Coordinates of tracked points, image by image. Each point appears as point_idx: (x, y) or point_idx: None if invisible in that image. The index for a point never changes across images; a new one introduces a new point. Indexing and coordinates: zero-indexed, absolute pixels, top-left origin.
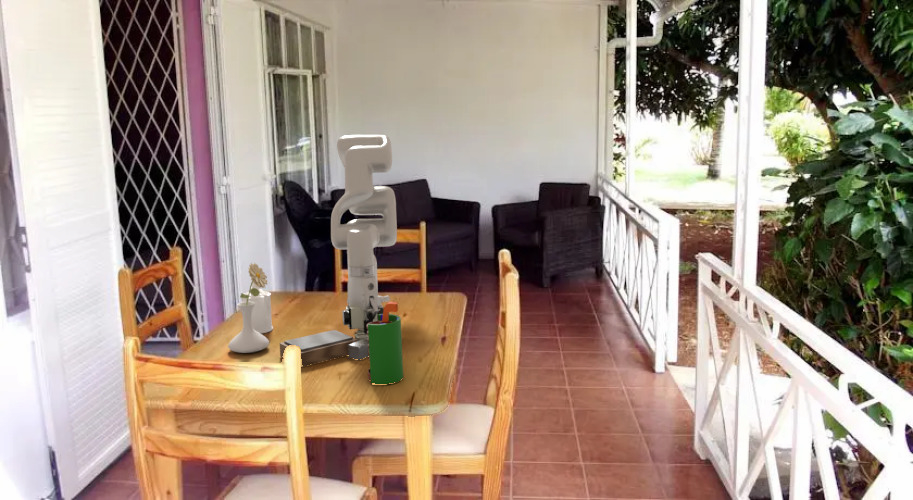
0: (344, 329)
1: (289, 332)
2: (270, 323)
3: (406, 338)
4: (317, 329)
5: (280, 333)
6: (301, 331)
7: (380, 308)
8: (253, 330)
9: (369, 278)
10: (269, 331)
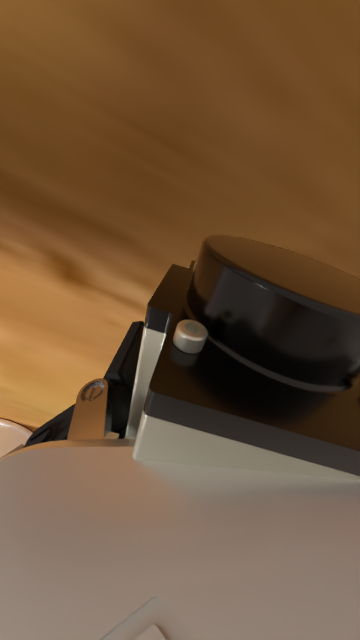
0: (18, 302)
1: (33, 408)
2: (2, 441)
3: (326, 24)
4: (11, 362)
5: (38, 419)
6: (27, 391)
7: (358, 363)
8: None
9: None
10: (24, 427)
